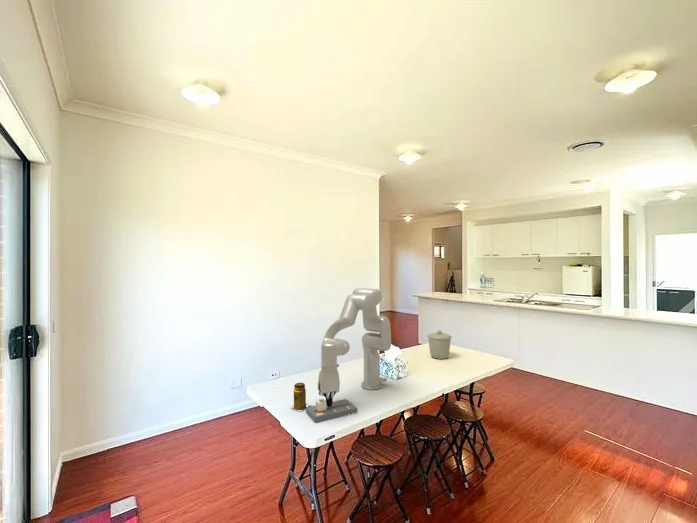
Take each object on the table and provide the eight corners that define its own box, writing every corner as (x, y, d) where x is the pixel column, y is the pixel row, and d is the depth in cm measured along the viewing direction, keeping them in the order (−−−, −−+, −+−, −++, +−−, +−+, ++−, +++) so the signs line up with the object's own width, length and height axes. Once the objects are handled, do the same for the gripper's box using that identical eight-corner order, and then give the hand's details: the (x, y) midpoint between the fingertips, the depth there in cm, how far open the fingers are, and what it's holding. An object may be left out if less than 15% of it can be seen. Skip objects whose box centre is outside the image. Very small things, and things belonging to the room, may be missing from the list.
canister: (446, 354, 269) (446, 327, 269) (455, 360, 251) (455, 332, 251) (424, 354, 268) (424, 328, 268) (431, 361, 250) (431, 332, 250)
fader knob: (323, 407, 164) (323, 398, 164) (326, 410, 161) (326, 401, 161) (315, 408, 162) (315, 400, 162) (318, 411, 159) (318, 403, 159)
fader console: (346, 403, 175) (345, 398, 175) (357, 412, 164) (357, 407, 164) (306, 412, 164) (306, 407, 164) (315, 422, 154) (315, 417, 154)
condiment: (290, 408, 170) (290, 384, 170) (302, 402, 176) (302, 379, 176) (299, 412, 165) (299, 387, 165) (312, 406, 172) (312, 383, 172)
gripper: (339, 363, 170) (339, 400, 170) (311, 368, 163) (311, 406, 163) (346, 367, 164) (346, 405, 164) (317, 372, 157) (317, 412, 157)
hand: (329, 405), depth 163 cm, fingers closed
